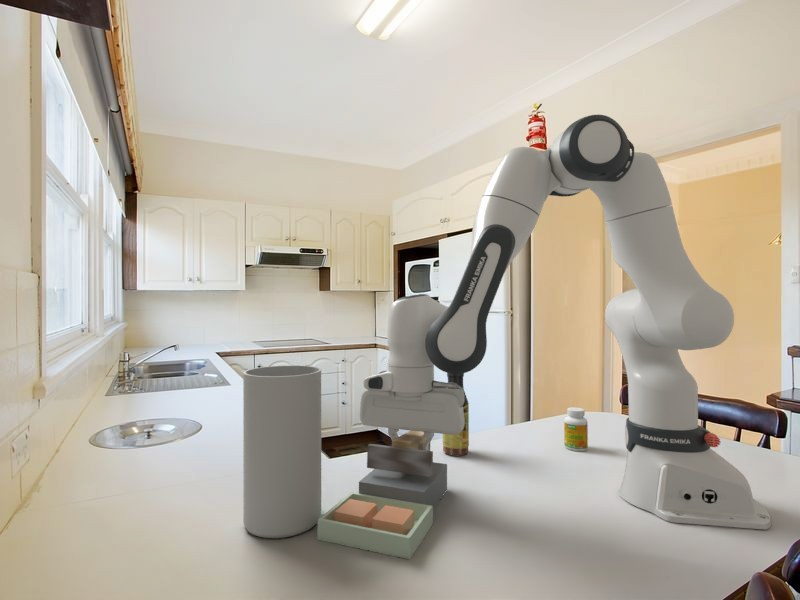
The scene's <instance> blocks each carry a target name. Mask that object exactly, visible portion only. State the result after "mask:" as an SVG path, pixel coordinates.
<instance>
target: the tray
mask: <svg viewBox="0 0 800 600" xmlns="http://www.w3.org/2000/svg"><path fill="white" fill-rule="evenodd" d="M349 499H353V500H359V501H364V502H369V503H375V504H377V513H378V512H379V511H380V510H381V509H382V508H383V507H384V506H385V505H387V506H393V507H399V508H404V509H410V510H414V527H413V528H412V529H411V531H410V532H409V533H408V535H402V534H397V533H392V532H387V531H382V530H377V529H372V528H367V527H362V526H357V525H352V524H347V523H342V522H337V521H335V511H336V510H337V509H338V508H340V507H341V506H342V505H343V504H344V503H346V502H347V501H348V500H349ZM433 521H434V509H433V506H431V505H425V504H419V503H413V502H407V501H401V500H396V499H390V498H384V497H378V496H372V495H366V494H360V493H359V492H353V491H350V492H349V493H348V494H347V495H346V496H344V497H343V498H341V500H340V501H338V502H337V503H336V504H335V505H334V506H332V507H331V508H330V509H329V510H327V511H326V513H324V514H323V515H321V517H320V518H319V519H318V522H317V540H318V541H323V542H328V543H333V544H337V545H342V546H347V547H351V548H354V549H359V548H360V550H364V551H368V550H369V552H373V551H374V553H377V552H378V554H382V555H383V554H384V555H387V556H392V557H397V558H401V559H406V560H410V559H411V558H412V556H413V554H414V553H416V551H417V549H418V547H419V546H420V545H421V543H422V542H423V540H424V539H425V537H426V535H427V533H429V531H430V530H431V528H432V526H433V525H432V524H434V522H433Z"/></svg>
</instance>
